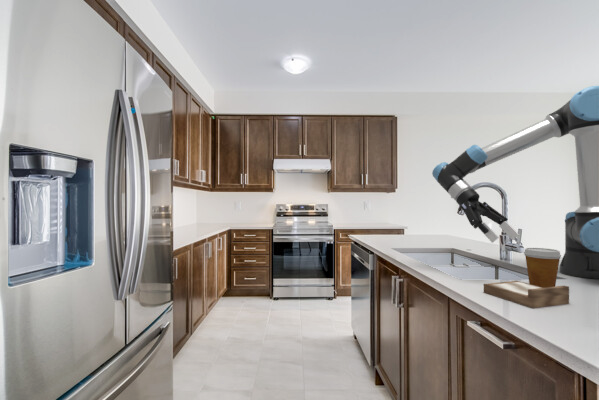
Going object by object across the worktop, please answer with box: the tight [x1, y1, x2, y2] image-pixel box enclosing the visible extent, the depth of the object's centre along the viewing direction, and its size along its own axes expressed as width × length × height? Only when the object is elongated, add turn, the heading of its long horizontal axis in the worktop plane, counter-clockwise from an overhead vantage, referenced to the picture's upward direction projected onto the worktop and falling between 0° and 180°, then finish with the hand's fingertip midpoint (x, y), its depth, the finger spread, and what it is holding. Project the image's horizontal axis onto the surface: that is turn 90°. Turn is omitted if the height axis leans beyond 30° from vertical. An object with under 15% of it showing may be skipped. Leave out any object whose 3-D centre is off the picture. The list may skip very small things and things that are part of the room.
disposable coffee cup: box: [523, 247, 562, 288], centre depth 103 cm, size 10×10×12 cm
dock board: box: [483, 280, 570, 309], centre depth 93 cm, size 13×15×4 cm
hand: (506, 238), depth 112 cm, fingers open, 13 cm apart
